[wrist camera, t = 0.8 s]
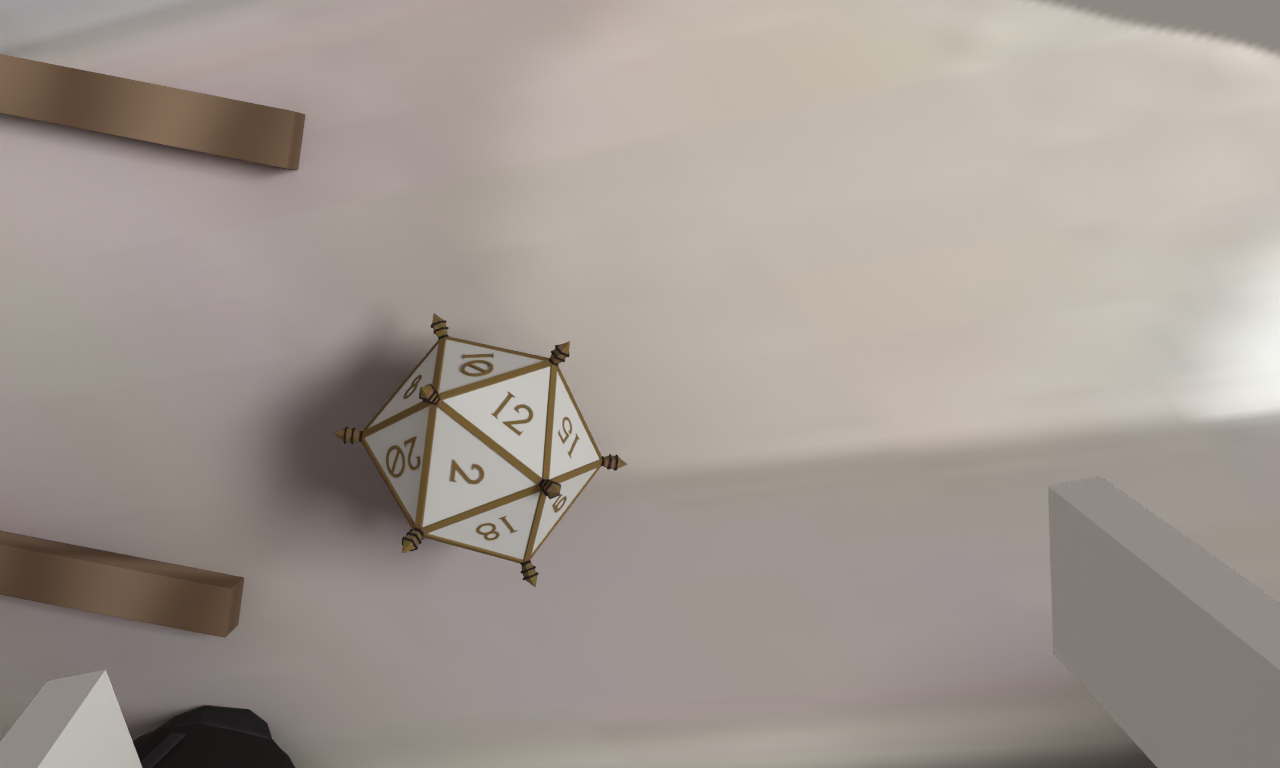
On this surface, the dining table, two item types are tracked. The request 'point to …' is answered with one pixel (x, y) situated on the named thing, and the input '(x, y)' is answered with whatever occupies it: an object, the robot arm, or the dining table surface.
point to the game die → (483, 448)
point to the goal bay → (180, 123)
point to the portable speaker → (212, 742)
